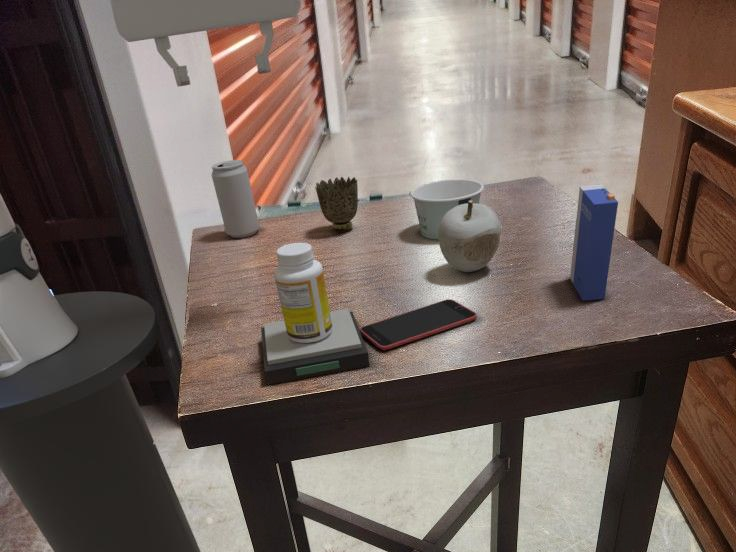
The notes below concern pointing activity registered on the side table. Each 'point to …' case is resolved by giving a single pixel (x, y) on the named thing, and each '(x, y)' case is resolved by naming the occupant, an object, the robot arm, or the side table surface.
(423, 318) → the smartphone
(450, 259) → the decorative object
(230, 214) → the beverage can
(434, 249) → the side table surface
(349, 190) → the cup
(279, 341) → the scale
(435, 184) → the food container
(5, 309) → the robot arm
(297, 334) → the supplement bottle
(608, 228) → the walkman
